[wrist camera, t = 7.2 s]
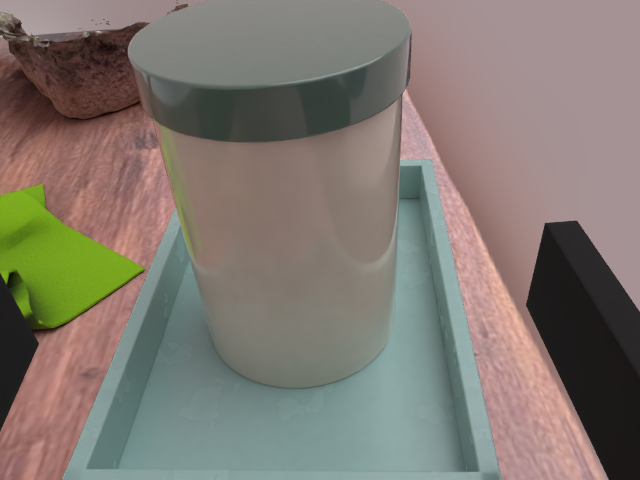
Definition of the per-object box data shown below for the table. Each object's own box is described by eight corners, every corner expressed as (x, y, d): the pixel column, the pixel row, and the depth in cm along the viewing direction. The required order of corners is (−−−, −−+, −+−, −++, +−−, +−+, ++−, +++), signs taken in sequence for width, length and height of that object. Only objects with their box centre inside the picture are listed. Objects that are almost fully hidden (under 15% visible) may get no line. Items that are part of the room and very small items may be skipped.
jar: (408, 393, 20) (426, 79, 13) (184, 394, 20) (81, 93, 13) (394, 248, 26) (401, -17, 19) (223, 252, 27) (167, -5, 20)
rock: (258, 69, 67) (246, -24, 62) (221, 121, 47) (199, -9, 43) (48, 85, 69) (22, -3, 64) (-72, 142, 49) (-122, 20, 44)
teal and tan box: (474, 604, 20) (505, 492, 15) (130, 596, 20) (56, 488, 16) (423, 272, 33) (432, 158, 28) (217, 276, 34) (192, 166, 29)
